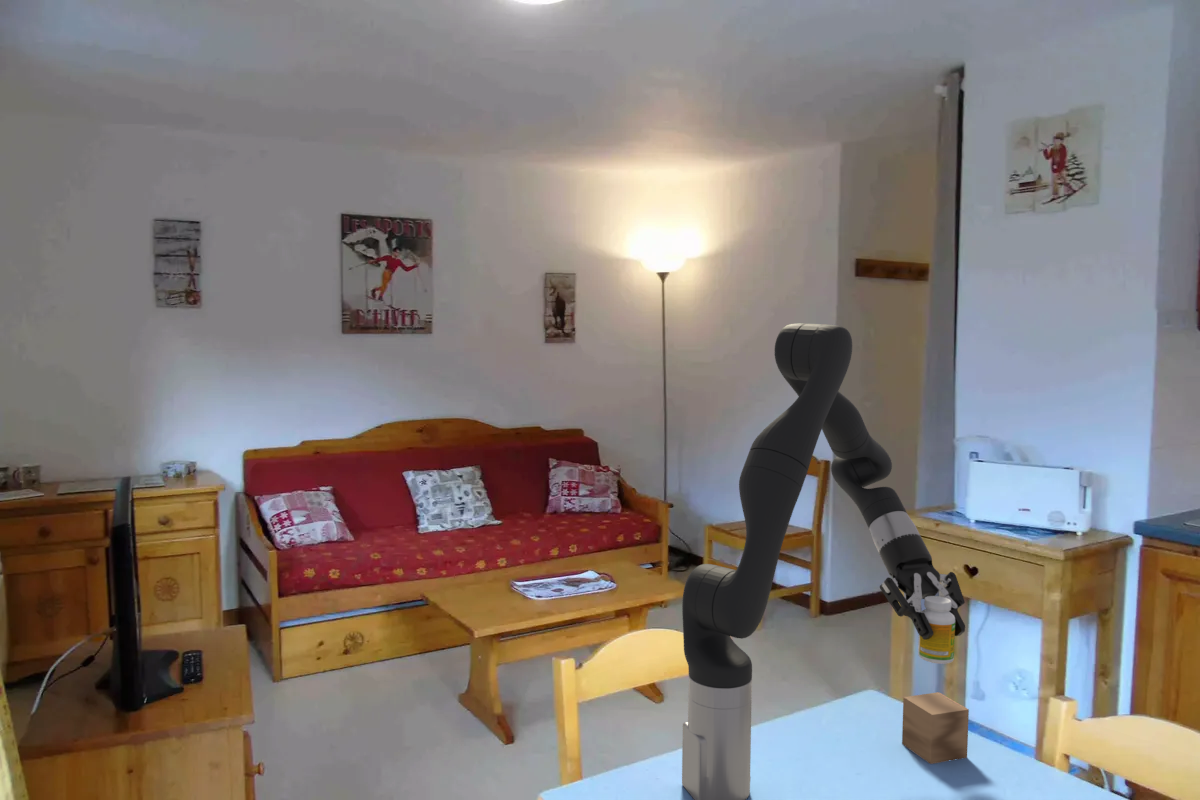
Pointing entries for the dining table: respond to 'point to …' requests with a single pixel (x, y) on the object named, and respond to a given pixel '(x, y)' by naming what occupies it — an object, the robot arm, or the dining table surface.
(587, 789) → the dining table surface
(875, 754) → the dining table surface
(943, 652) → the supplement bottle
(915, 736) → the walnut block
